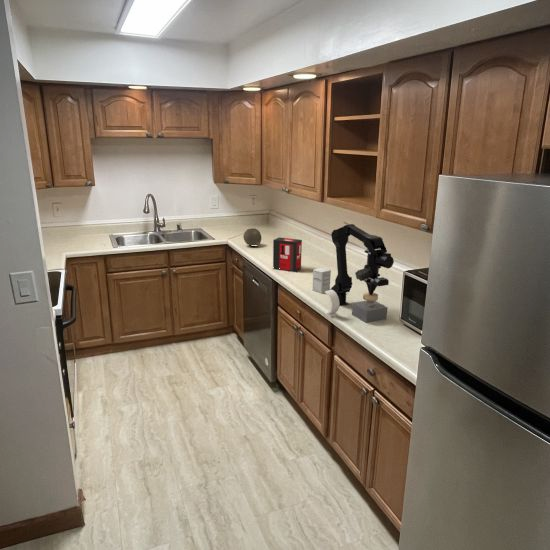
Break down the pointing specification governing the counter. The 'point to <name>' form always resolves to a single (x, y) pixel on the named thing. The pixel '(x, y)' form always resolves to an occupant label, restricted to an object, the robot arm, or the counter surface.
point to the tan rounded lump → (370, 298)
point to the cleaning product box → (287, 254)
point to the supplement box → (321, 280)
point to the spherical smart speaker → (252, 236)
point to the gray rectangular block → (369, 311)
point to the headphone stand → (332, 303)
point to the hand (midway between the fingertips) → (370, 294)
